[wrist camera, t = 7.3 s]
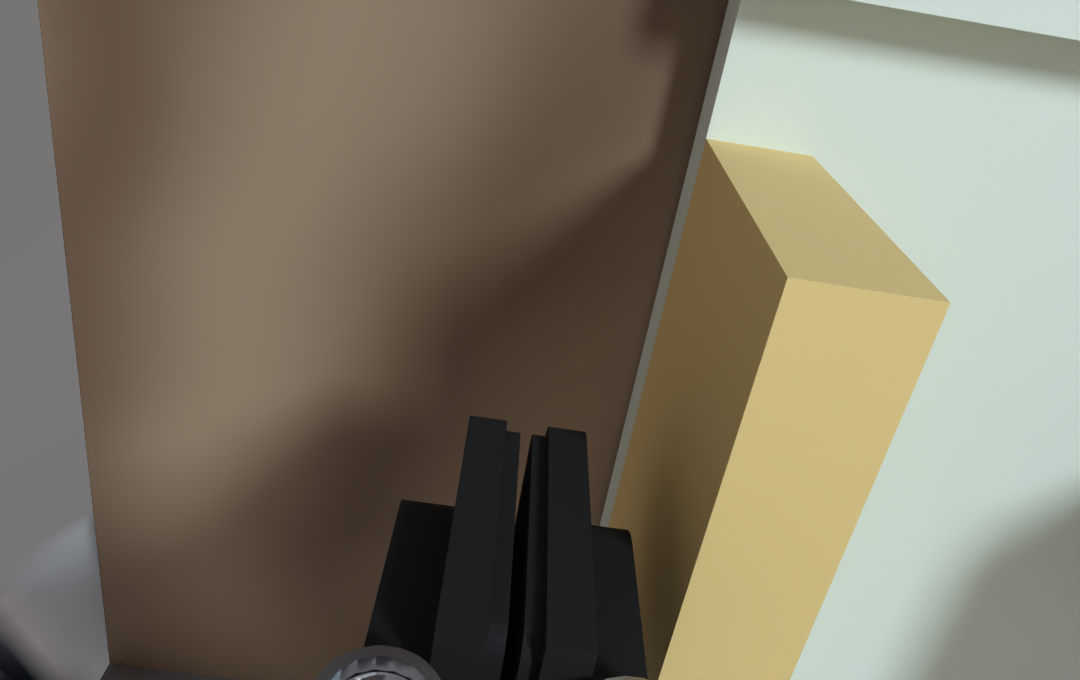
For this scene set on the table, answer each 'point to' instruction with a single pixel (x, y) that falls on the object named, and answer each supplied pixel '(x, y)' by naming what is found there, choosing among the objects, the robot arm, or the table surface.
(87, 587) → the table surface
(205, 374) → the guide base
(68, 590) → the table surface
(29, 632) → the table surface
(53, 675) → the table surface
